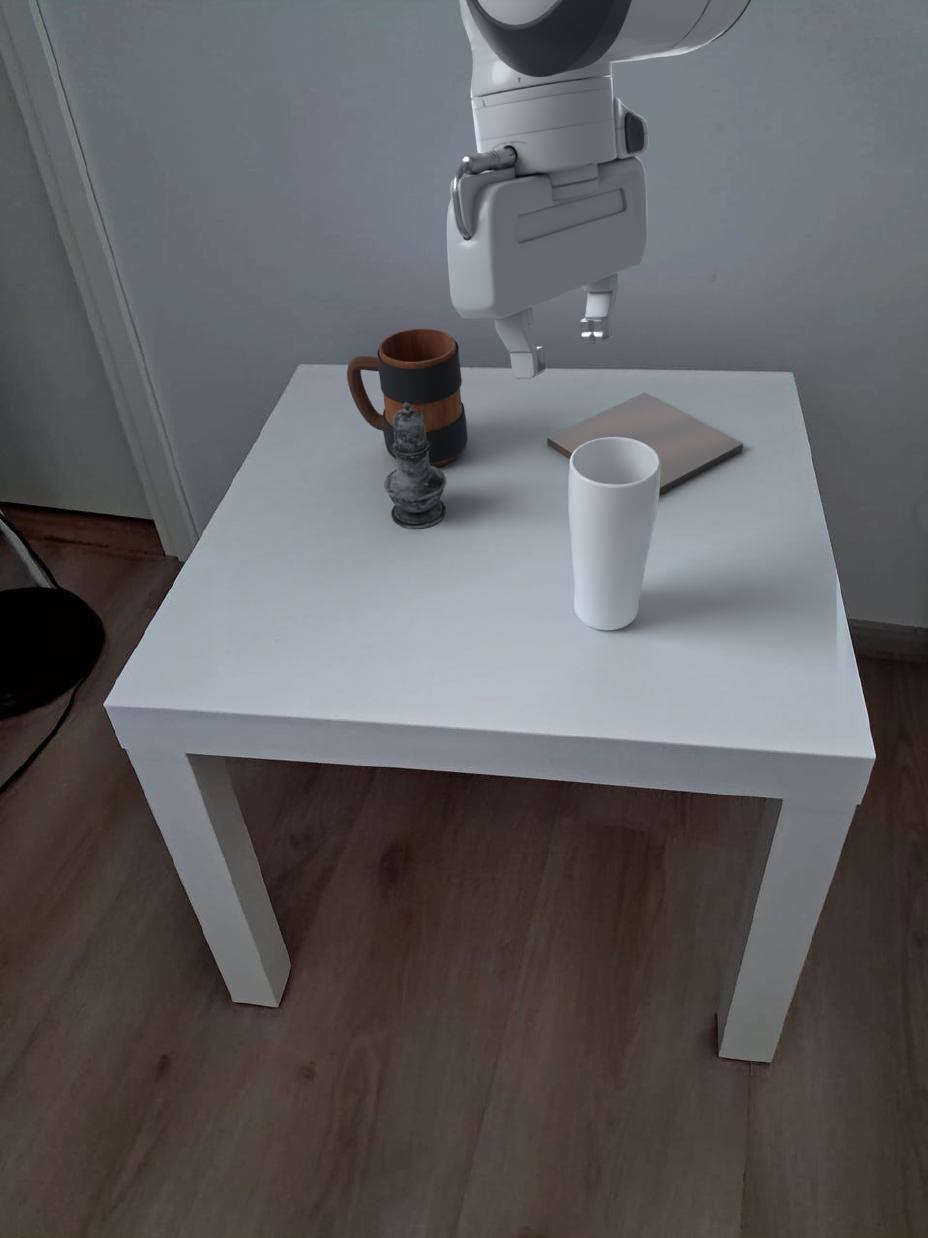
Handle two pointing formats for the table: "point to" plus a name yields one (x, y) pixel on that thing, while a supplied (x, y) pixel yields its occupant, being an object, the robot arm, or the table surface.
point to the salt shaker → (414, 474)
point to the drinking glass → (611, 527)
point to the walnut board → (654, 437)
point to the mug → (416, 389)
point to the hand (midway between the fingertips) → (565, 358)
